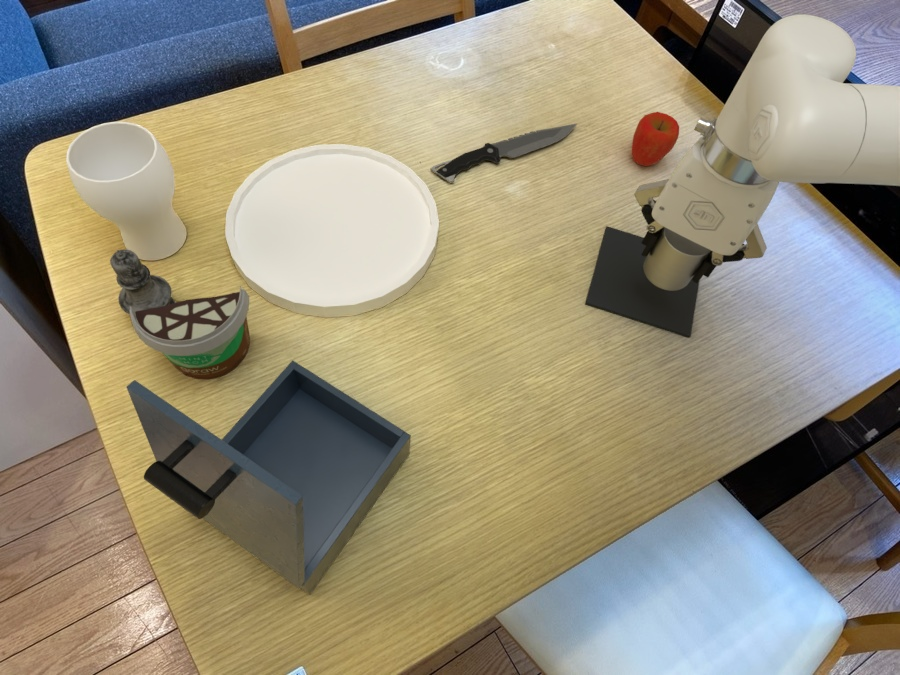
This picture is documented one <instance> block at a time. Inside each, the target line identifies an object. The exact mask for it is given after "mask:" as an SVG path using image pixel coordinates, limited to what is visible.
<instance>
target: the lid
mask: <svg viewBox="0 0 900 675" xmlns="http://www.w3.org/2000/svg"><path fill="white" fill-rule="evenodd" d="M126 390H127V392H128V395H129V398H130V400H131V402H132V404H133V407H134V410H135V412H136V415H137V417H138V420H139V422H140V424H141V427H142V429H143V432H144V434H145V437H146V439H147V441H148V445H149V447H150V450H151V452H152V454H153V457H154V459H155V461H154V462H153V463H152V464H150V465H149V466H148V467H147V469H146V470H145V472H144V474H143V480H144V481H146V482H147V483H149V485H151V486H152V487H154V488H155V489H156V490H158V491H160V492H161V493H162V494H164V495H165V496H166V497H168V498H169V499H170V500H171V501H173V502H174V503H176V504H177V505H179V506H180V507H181V508H183V509H184V511H187V513H189V514H190V515H192V516H193V517H195V518H196V519H198V520H201V519H203V520H204V521H205V522H207V523H208V524H209V525H211V526H212V527H214V528H215V529H216V530H218V531H219V532H221V534H223V535H225V536H226V537H227V538H229V539H230V540H231V541H233V542H234V543H236V544H237V545H238V546H240V547H241V548H242V549H244V550H245V551H247V552H248V553H249V554H251V555H252V556H253V557H255V558H256V559H257V560H259V561H260V562H262V564H264V565H266V566H267V567H269V568H270V569H271V570H272V571H274V572H275V573H276V574H278V575H280V576H281V577H282V578H284V580H286V581H287V582H289V583H290V584H292V585H293V586H294V587H296V588H297V589H300V587H301V586H302V585H303V583H304V582H305V573H304V529H303V496H302V495H301V494H299V493H298V492H296V491H295V490H294V489H292V488H291V487H289V486H288V485H286V484H285V483H283V482H282V481H281V480H279V479H278V478H276V477H275V476H273V475H272V474H270V473H269V472H267V471H266V470H265V469H263V468H262V467H260V466H259V465H257V464H256V463H254V462H253V461H252V460H250V459H249V458H247V457H246V456H244V455H243V454H241V453H240V452H238V451H237V450H236V449H234V448H233V447H231V446H230V445H228V444H227V443H225V442H224V441H223V440H222V438H219V437H218V436H217V435H215V434H214V433H212V432H211V431H210V430H208V429H207V428H205V427H203V425H201V424H199V423H198V422H197V421H195V420H194V419H192V418H191V417H189V416H188V415H186V414H185V413H183V411H181V410H179V409H178V408H176V407H175V406H173V405H172V404H171V403H169V402H167V401H166V400H165V399H163V398H162V397H161V396H159V395H158V394H156V393H155V392H153V391H151V390H150V389H148V388H147V387H146V386H145V385H144V384H142V383H140V382H139V381H138V380H135V379H133V381H131V382H130V383H129V384H127V385H126Z"/></svg>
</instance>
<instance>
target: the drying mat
mask: <svg viewBox="0 0 900 675" xmlns="http://www.w3.org/2000/svg"><path fill="white" fill-rule="evenodd" d="M644 237H645V236H644ZM644 237H643V236H641V235H637V234H633V233H630V232H627V231H624V230H622V229H621V230H620V229H617V228H614V227H611V226H608V225H606V227H605V228H604V232H603V236H602V240H601V244H600V247H599V251H598V255H597V258H596V262H595V266H594V269H593V272H592V277H591V280H590V284H589V289H588V292H587V296H586V300H585V303H584V305H586V306H589V307H591V308H594V309H599V310H601V311H604V312H608V313H610V314H614V315H617V316H620V317H622V318H627V319H629V320H633V321H635V322H639V323H642V324H645V325H648V326H651V327H655V328H657V329H661V330H663V331H667V332H670V333H674V334H676V335H679V336H682V337H685V338H691V336H692V331H693V324H694V317H695V311H696V306H697V305H696V304H697V298H698V293H699V286H700V280H699V281H698V283H695V282H693V280H692V279H693V278H692V279H691V280H690V282H689V283H688V285H687V286H685V287H684V288H682V289H680V290H676V291H669V290H664V289H661V288H659V287H657V286H655V285H654V284H652V283H651V282H650V281H649V280H648V278H647V277H646V275H645V273H644V269H643V264H644V261H645V259H646V257H647V256H645V257H644V256H642V255H641V254H642V252H643V251H644V249H645V247H646V246H645V245H643V244H642V241H643V239H644ZM693 277H694V276H693Z"/></svg>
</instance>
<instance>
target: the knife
mask: <svg viewBox="0 0 900 675" xmlns="http://www.w3.org/2000/svg"><path fill="white" fill-rule="evenodd" d="M577 125H578V123H572V124H567V125H566V124H565V125H562V126H561V125H560V126H556V127H549V128H543V129H539V130H538V129H537V130H535V131H534V130H533V131H529V132H525V133H524V134H520V135H518V136H517V135H516V136H513V137H510V138H507V139H503V140H500V141H497V142H494V143H493V142H492V143H490V142H485V144H484V146H483V147H480V148H477V149H473V150H471V151H467V152H463V153H462V154H460V155H458V156H457V157H455V158H453V159H450V160H447V161H443V162H440V163H437V164H436V165H433V166H432V167H430V169H429V170H430V171H432V172H433V173H434V174H436V176H437V177H439V178H440V179H441V180H445V181H447V182H448V183H450V184H451V183H454V182H455V177H456V176H457V175H458V174H459V173H460V172H462V171H466V170H469V169H471V167H472V166H475V165H480V164H482V162H485V161H490V162H492V163H494V164H496V165H499V164H500V163H501V158H503V157H506V158H509V159H514V158H517V157H520V156H522V155H525V154H528V153H531V152H534V151H536V150H539V149H542V148H545V147H548V146H550V145H553V144H556V143H557V142H559V141H561V140H562V139H564V138H565V137H567V136H568V135H569V134H570V133H571V132H572V131H573V130H574V129H575V127H576V126H577ZM438 168H439V169H438Z"/></svg>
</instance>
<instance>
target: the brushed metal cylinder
mask: <svg viewBox="0 0 900 675" xmlns="http://www.w3.org/2000/svg"><path fill="white" fill-rule="evenodd" d="M710 252H711V250H709V249H707V248H705V247H703V246H701V245H699V244H697V243H695V242H693V241H691V240H689V239H687V238H685V237H683V236H681V235H679V234H677V233H675V232H673V231H671V230H669V229H667V228H665V227H664V228H663V229H662V231H661V233H660V235H659V237H658V238H657V240H656V242H655V244H654V245H653V247H652V249H651V251H650V252H649V254H648V256H647V257H646V259H645V261H644V264H643V269H644V273H645V275H646V277H647V278H648V280H649V281H650V282H651V283H652V284H654V285H655V286H657V287H659V288H661V289H664V290H669V291H676V290H680V289H682V288H684V287H685V286H687V285H688V283H689V282H690V280H691V279H692V278H693V276H694V275H695V273H696V272H697V271H698V269H699V268H700V266H701V265H702V264H703V262H704V261H705V259H706V258H707V256H708V255H709V254H710Z"/></svg>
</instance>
